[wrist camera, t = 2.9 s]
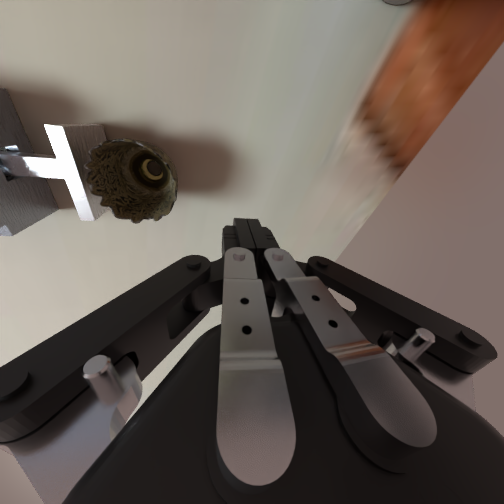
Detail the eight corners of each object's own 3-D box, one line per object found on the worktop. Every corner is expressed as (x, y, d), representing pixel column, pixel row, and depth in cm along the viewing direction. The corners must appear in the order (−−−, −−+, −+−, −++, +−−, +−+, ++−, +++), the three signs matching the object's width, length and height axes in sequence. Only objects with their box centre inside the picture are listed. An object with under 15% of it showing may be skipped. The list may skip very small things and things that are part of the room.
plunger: (102, 124, 21) (44, 127, 14) (121, 198, 25) (84, 229, 18) (-15, 110, 19) (-153, 104, 12) (27, 193, 23) (-56, 225, 16)
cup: (179, 132, 23) (164, 137, 16) (191, 195, 27) (184, 220, 20) (109, 134, 22) (63, 140, 15) (133, 199, 26) (105, 226, 19)
